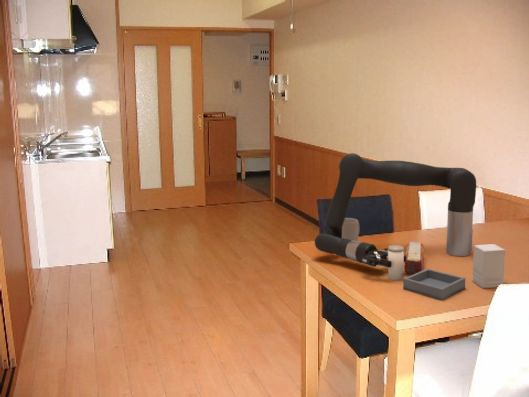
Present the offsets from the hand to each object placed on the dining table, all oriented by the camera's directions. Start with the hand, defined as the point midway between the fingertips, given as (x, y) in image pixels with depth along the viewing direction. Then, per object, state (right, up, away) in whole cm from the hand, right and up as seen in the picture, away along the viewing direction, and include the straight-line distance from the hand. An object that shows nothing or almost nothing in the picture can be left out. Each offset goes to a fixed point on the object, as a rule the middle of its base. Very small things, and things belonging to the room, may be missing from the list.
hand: (398, 261), depth 187 cm
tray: (+9, -8, -9) cm, 15 cm away
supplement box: (+28, -7, -6) cm, 29 cm away
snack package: (+9, -4, +13) cm, 17 cm away
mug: (-10, +2, +42) cm, 44 cm away
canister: (-1, -6, +2) cm, 6 cm away
